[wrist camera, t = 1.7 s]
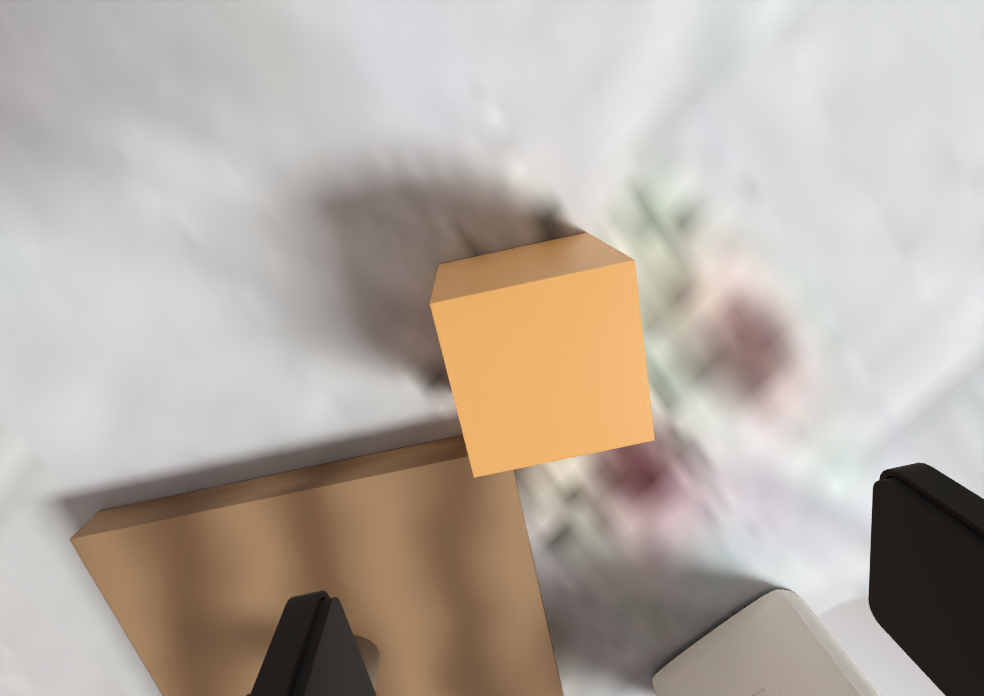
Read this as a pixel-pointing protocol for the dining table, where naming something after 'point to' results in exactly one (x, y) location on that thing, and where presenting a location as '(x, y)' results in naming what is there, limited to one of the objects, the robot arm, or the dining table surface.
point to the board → (334, 575)
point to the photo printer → (765, 656)
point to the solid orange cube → (544, 352)
